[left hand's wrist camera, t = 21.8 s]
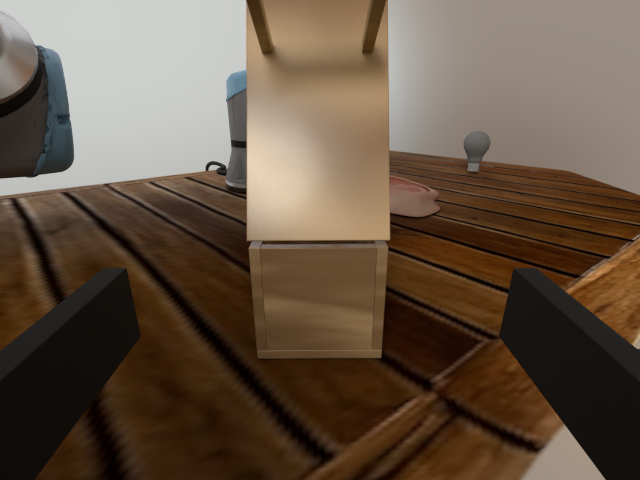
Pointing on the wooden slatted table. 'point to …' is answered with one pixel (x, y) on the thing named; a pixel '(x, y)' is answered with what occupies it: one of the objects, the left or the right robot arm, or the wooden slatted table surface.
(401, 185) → the anatomical model
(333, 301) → the chest
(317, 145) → the lid
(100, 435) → the wooden slatted table surface
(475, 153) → the light bulb
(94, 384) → the left robot arm
